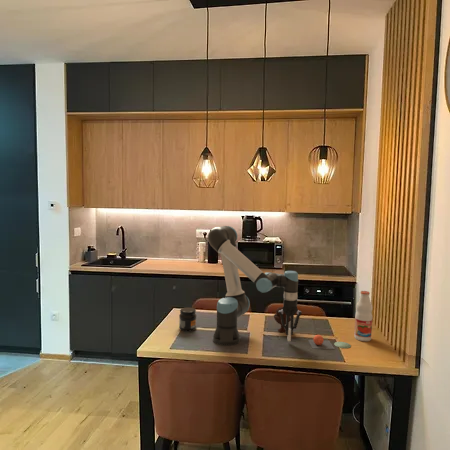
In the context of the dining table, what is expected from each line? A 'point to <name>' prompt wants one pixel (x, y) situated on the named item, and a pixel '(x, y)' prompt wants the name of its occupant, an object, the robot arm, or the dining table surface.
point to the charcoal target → (324, 345)
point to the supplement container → (187, 319)
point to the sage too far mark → (342, 344)
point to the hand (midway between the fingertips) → (288, 340)
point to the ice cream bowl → (278, 319)
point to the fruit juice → (363, 318)
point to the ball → (318, 339)
